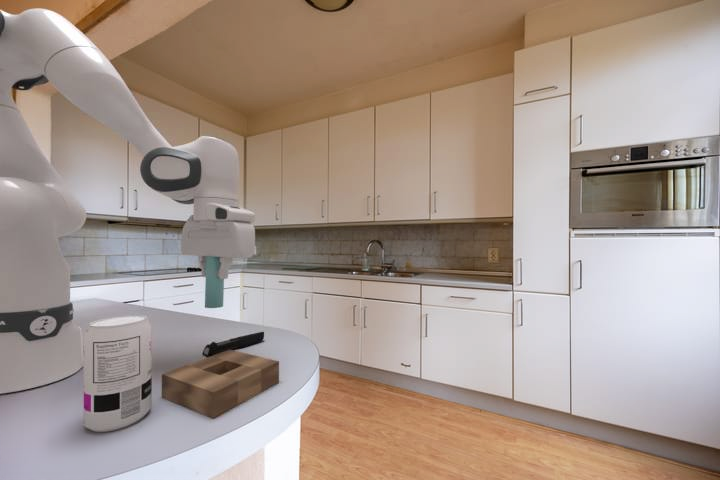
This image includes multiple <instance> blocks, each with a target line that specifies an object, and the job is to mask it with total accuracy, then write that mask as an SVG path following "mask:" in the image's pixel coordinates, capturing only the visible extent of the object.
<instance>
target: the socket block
mask: <svg viewBox="0 0 720 480" xmlns="http://www.w3.org/2000/svg"><path fill="white" fill-rule="evenodd" d="M279 383H280V360H275V359H272V358H266V357H262V356H259V355H256V354H255V355H253V354H250V353H247V352H241V351H238V350H235V349H232V350H227V351H225V352H222V353H218V354H215V355H213V356H211V357H204V358H203V359H200V360H197V361H194V362H192V363H189V364H186V365H183V366H180V367H177V368H174V369H172V370H168V371H165V372H164V373H161V398H164V399H165V400H168V401H170V402H173V403H174V404H175V403H176V404H177V405H180V406H182V407H184V408H188V409H189V410H192V411H195V412H197V413H199V414H202V415H204V416H206V417H209V418H211V419H215V418H217V417H219V416H221V415H224V413H227V412H228V411H230V410H231V409H234V408H235V407H237V406H239V405H240V404H243V403H244V402H246V401H248V400H250V399H251V398H254V397H255V396H257V395H259V394H260V393H262V392H264V391H266V390H267V389H270V388H271V387H274V385H277V384H279Z"/></svg>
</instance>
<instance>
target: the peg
mask: <svg viewBox="0 0 720 480" xmlns="http://www.w3.org/2000/svg"><path fill="white" fill-rule="evenodd" d="M220 266H221V262H220V257H212V256H206V277H205V284H204V285H205V288H204V290H205V291H204V308H205V309H218V308H219V309H220V308H222V307H224V292H225V279H218V278H217V277H216V275H217V274H216V273H217V270H219V269H220Z"/></svg>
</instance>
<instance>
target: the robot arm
mask: <svg viewBox="0 0 720 480" xmlns="http://www.w3.org/2000/svg"><path fill="white" fill-rule="evenodd" d="M47 83H50V84H51V85H52V86H53V87H54V89H56V90H57V92H59V93H60V94H61V95H62V96H63V97H64V98H65V99H67V101H69V102H71V103H72V104H73V105H74V106H75V107H77V108H78V109H80V110H81V111H83V112H84V113H85V114H87V115H88V116H90V117H91V118H93V119H95V120H97V121H98V122H100V123H102V124H103V125H104V126H106V127H108V128H109V129H110V130H112V131H114V132H116V133H117V134H118V135H120V136H121V137H122V138H123V139H125V140H126V141H127V142H128V143H130V144H131V145H132V146H133V148H135V150H136V151H137V152H138V153H139V154H140V155H141V156H142V157H143V158H142V160H141V162H140V167H139V171H140V176H141V179H142V180H143V182H144V183H145V184H146V185H147V186H148V187H149V188H151V190H153V191H155V192H156V193H159V194H161V195H163V196H165V197H167V198H170V199H171V200H173V201H174V202H176V203H178V204H180V205H181V204H182V205H193V212H192V213H193V214H192V215H190V216H189V217H188V219H187V220H186V221H185V224H184V225H183V227H182V231H181V239H180V252H181V255H182V256H195V257H196V256H197V262H198V264H199V267H200V269H201V277H202V278H206V256H212V257H220V262H221V266H220V269H219V270H217V273H216V274H217V275H216V277H217V278H218V279H224V280H226V279H228V278H229V270H230V268H231V267H232V265H233V263H234V262H233V260H234V259H250V258H252V256H253V255H254V253H255V250H256V248H255V247H256V229H255V226H254V224H253V223H255V221H256V214H255V213H254V212H253V211H250V210H248V209H246V208H244V207H240V206H239V204H240V202H239V201H240V199H239V195H238V188H239V184H240V160H239V153H238V150H237V149H236V148H235V147H234V145H233V144H232V143H230V142H229V141H227V140H225V139H222V138H220V137H216V136H212V135H201V136H199V137H198V138H197V139H195V140H194V141H191V142H188V143H185V144H181V145H180V144H179V145H175V146H172V145H171V144H170V143H169V142H168V141H167V139H166V138H165V137H164V136H163V134H161V132H160V131H159V130H158V129H157V128H156V127H155V126H154V125H153V124H152V122H151V121H150V119H149V118H148V116H147V115H146V113H145V112H144V110H143V109H142V108H141V106H140V104H139V102H138V101H137V99H136V98H135V97H134V95H133V94H132V92H131V90H130V88H129V86H128V85H127V84H126V82H125V80H124V79H123V78H122V76H121V75H120V73H119V72H118V70H116V67H114V65H113V64H112V63H111V61H110V60H109V59H108V58H107V56H106V55H105V54H104V53H103V52H102V51H101V50H100V49H99V47H97V46H96V44H94V42H93V41H91V39H89V37H88V36H86V35H85V34H84V33H83V32H82V31H81V30H80V29H79V28H78V27H76V26H75V25H74V24H73V23H71V21H69V20H68V19H67V18H65V17H64V16H63V15H61V14H59V13H58V12H55V11H54V10H50V9H48V8H37V7H36V8H30V9H26V10H23V11H22V12H21V13H19V14H18V13H17V14H12V13H8V12H6V11H4V10H2V9H0V394H7V393H14V392H20V391H24V390H25V391H26V390H28V389H33V388H37V387H38V388H39V387H41V386H45V385H48V384H51V383H54V382H58V381H60V380H62V379H65V378H67V377H70V376H72V375H74V374H75V373H77V372H79V370H81V368H84V342H83V332H82V331H83V330H82V328H81V327H80V326H78V325H76V324H75V323H73V321H72V320H73V319H74V313H75V310H74V309H75V308H74V306H73V305H74V304H73V302H71V267H70V264H69V263H68V261H66V259H65V258H64V254H63V252H62V249H61V247H60V243H59V240H58V238H62V237H65V236H68V235H71V234H74V233H76V232H77V231H79V230H80V229H81V228H82V227H83V226H84V224H85V223H86V220H87V211H86V208H85V206H84V204H82V203H81V201H80V200H79V199H77V198H76V196H75V195H74V194H73V192H72V190H70V188H69V187H68V185H67V184H66V183H65V181H64V180H63V178H62V177H61V176H60V174H59V173H58V172H57V170H56V169H55V168H54V166H53V165H52V164H51V163H50V161H49V160H48V159H47V157H46V156H45V154H44V153H43V151H42V150H41V147H39V145H38V143H37V141H36V138H34V136H33V133H32V132H31V130H30V128H29V126H28V125H27V122H26V121H25V119H24V117H23V115H22V113H21V111H20V109H19V107H18V106H17V103H16V102H15V100H14V98H13V95H12V89H14V90H17V91H29V90H31V89H33V88H34V87H37V86H38V87H39V86H41V85H44V84H47Z"/></svg>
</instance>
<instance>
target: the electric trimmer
mask: <svg viewBox="0 0 720 480" xmlns="http://www.w3.org/2000/svg"><path fill="white" fill-rule="evenodd" d="M264 339H265V332H264V331H259V332H255V333H254V332H253V333H250V334H246V335H242V336H237V337H233V338H229V339H227V340H222V341H219V342H216V341H212V342H211V343H210V344H209V343H208V344H206V345H205V346H204V349H203V351H202V354H201V355H202V356H203V357H204V358H208V357H211V356H213V355H216V354H219V353H222V352H225V351H227V350H236V349H243V348H246V347H248V346H251V345H255V344H256V343H259V342H262V341H263V340H264Z"/></svg>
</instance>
